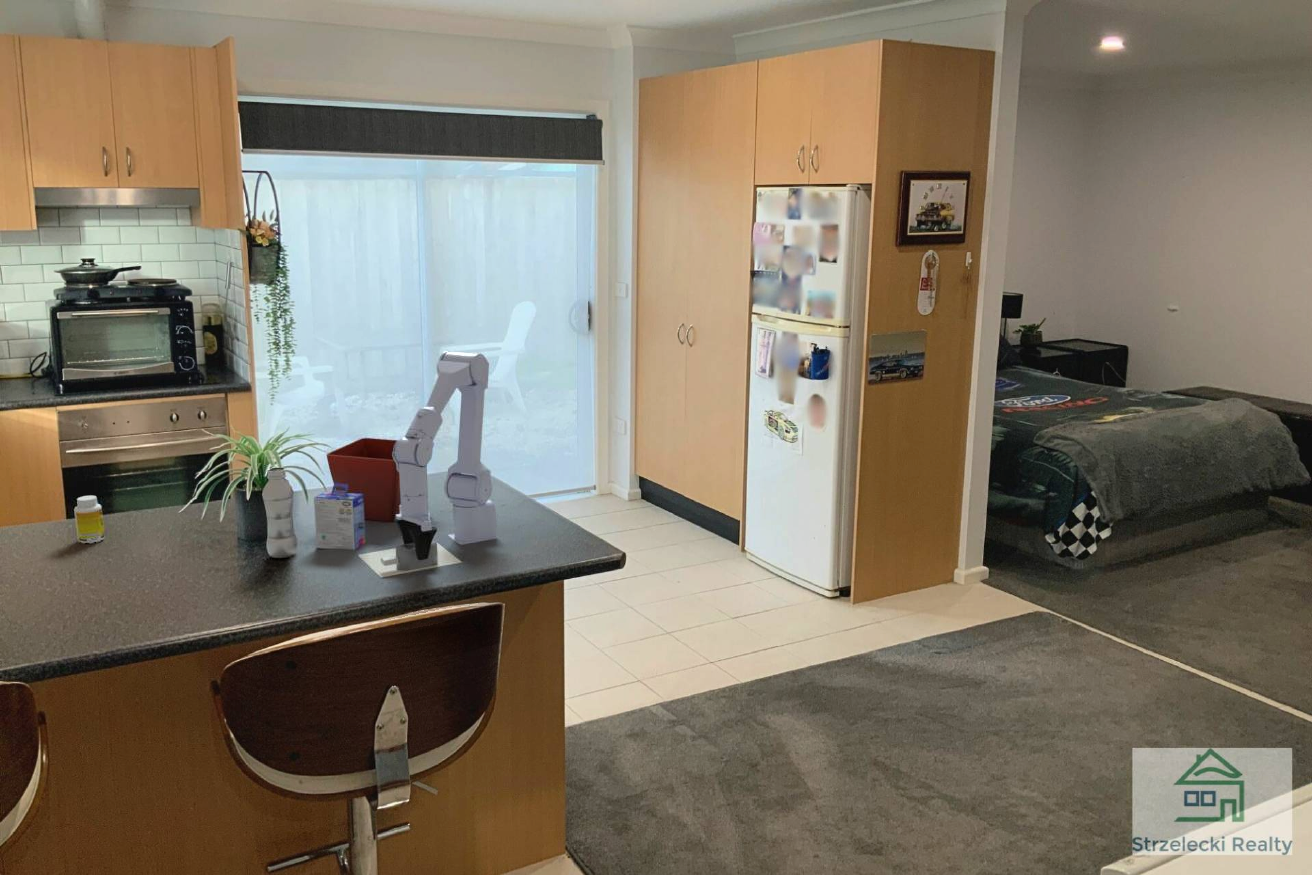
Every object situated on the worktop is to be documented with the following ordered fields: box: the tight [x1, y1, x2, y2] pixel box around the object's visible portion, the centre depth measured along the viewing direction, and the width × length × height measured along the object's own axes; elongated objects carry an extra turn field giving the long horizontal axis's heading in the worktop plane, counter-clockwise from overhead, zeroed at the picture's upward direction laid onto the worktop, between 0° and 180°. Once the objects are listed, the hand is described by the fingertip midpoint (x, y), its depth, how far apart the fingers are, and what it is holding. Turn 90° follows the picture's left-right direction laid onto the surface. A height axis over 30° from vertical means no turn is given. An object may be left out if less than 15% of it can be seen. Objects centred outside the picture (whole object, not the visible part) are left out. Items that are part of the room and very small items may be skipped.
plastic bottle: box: [261, 466, 299, 559], centre depth 231 cm, size 6×7×20 cm
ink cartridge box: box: [313, 483, 367, 550], centre depth 239 cm, size 10×6×14 cm, turn 78°
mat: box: [357, 540, 463, 578], centre depth 232 cm, size 18×16×1 cm
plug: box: [381, 540, 438, 571], centre depth 226 cm, size 12×4×4 cm, turn 122°
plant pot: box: [326, 437, 401, 522], centre depth 263 cm, size 19×19×17 cm
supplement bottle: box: [73, 495, 106, 544], centre depth 242 cm, size 6×6×10 cm
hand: (416, 553), depth 227 cm, fingers open, 7 cm apart
